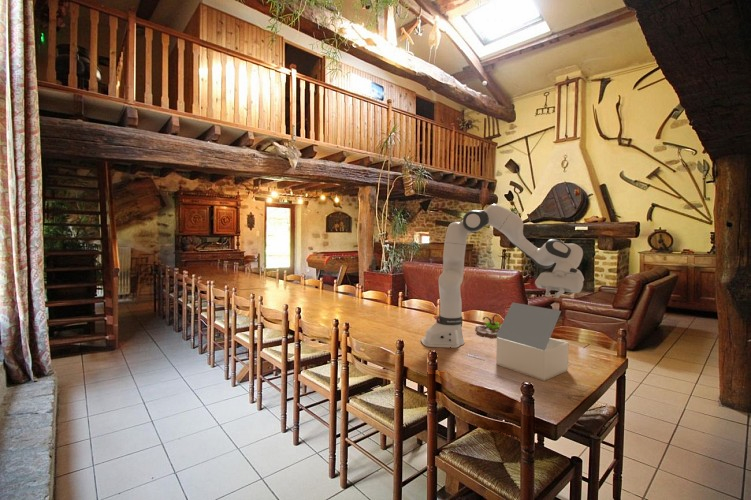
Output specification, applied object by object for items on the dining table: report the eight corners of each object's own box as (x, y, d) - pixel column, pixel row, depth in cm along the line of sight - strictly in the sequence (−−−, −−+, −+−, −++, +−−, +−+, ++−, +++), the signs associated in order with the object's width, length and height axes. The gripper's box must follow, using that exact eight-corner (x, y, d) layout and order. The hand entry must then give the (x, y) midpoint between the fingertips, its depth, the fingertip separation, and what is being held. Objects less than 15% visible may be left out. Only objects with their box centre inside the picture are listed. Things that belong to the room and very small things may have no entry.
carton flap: (512, 302, 163) (512, 302, 163) (561, 311, 145) (560, 310, 145) (496, 336, 157) (496, 336, 157) (544, 350, 139) (544, 349, 139)
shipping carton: (520, 355, 168) (521, 330, 168) (568, 370, 150) (568, 342, 150) (496, 364, 158) (496, 337, 157) (544, 381, 140) (544, 351, 139)
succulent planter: (513, 339, 196) (514, 319, 195) (476, 337, 200) (477, 317, 199) (508, 329, 215) (508, 311, 215) (474, 328, 219) (475, 310, 219)
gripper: (539, 267, 174) (527, 289, 168) (583, 270, 157) (572, 295, 152) (544, 275, 176) (532, 297, 171) (588, 279, 160) (577, 304, 154)
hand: (551, 296), depth 161 cm, fingers open, 3 cm apart
